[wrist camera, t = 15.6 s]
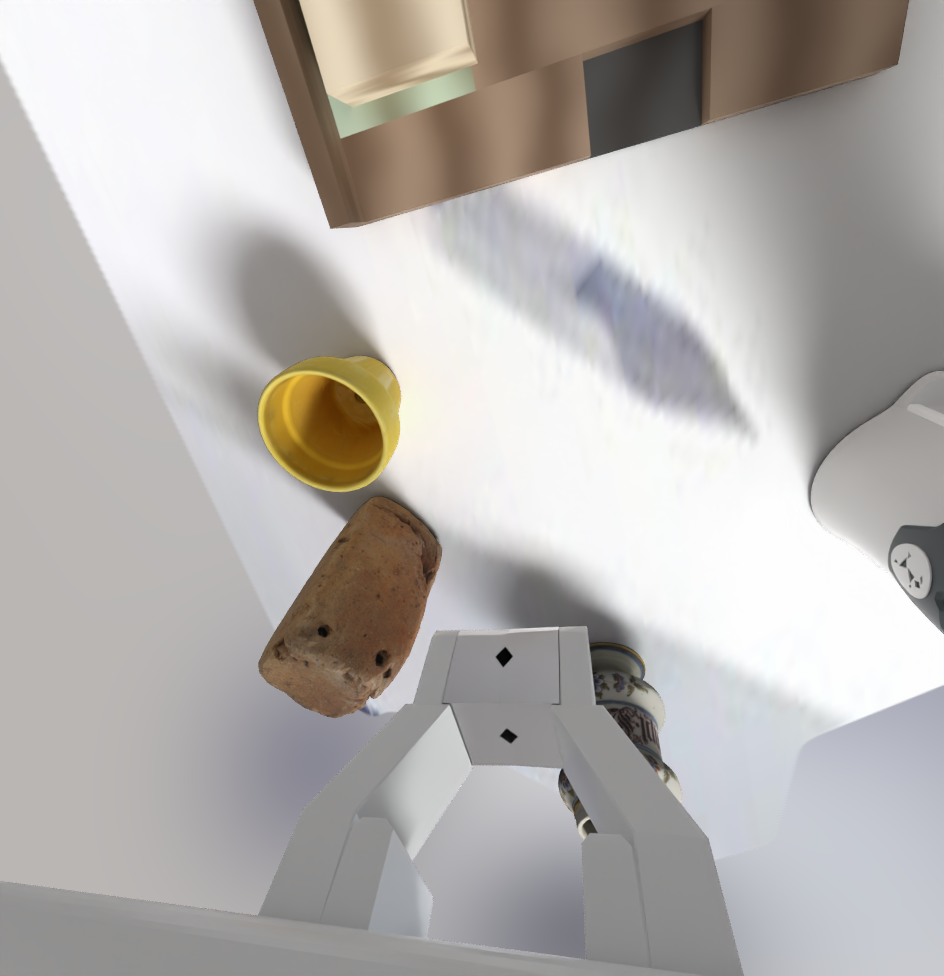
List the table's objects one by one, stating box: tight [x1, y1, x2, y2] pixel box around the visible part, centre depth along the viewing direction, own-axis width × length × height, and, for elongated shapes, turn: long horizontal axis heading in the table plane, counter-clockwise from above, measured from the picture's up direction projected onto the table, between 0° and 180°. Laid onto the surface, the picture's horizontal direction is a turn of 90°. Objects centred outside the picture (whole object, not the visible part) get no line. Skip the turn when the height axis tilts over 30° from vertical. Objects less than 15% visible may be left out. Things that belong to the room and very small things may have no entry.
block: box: [258, 497, 442, 718], centre depth 41 cm, size 11×8×20 cm
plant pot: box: [258, 356, 401, 492], centre depth 38 cm, size 10×10×10 cm
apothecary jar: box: [558, 643, 682, 840], centre depth 49 cm, size 12×12×18 cm
